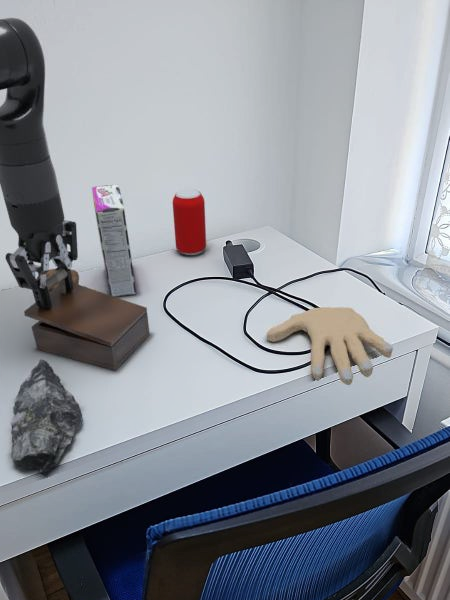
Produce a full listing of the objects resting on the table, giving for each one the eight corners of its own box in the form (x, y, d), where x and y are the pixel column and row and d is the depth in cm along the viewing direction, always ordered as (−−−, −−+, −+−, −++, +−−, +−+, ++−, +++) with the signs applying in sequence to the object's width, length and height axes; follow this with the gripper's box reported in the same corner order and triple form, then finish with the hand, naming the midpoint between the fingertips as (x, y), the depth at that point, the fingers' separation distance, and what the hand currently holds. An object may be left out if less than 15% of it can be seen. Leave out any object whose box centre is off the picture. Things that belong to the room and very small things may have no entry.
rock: (6, 352, 84) (14, 375, 87) (3, 459, 68) (13, 483, 71) (70, 340, 86) (76, 363, 89) (82, 442, 70) (89, 467, 73)
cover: (24, 315, 89) (19, 287, 85) (65, 284, 96) (62, 257, 93) (111, 347, 85) (109, 319, 82) (146, 311, 93) (146, 284, 89)
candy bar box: (104, 270, 113) (90, 186, 102) (130, 267, 114) (119, 183, 103) (109, 299, 104) (94, 210, 94) (137, 295, 105) (125, 206, 95)
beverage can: (212, 251, 118) (210, 192, 111) (188, 260, 115) (184, 201, 108) (194, 241, 122) (191, 184, 114) (170, 250, 119) (165, 192, 111)
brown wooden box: (37, 349, 93) (31, 326, 90) (76, 316, 100) (71, 294, 97) (115, 370, 88) (111, 347, 85) (149, 334, 95) (147, 312, 93)
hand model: (381, 302, 97) (399, 359, 80) (379, 327, 99) (395, 388, 82) (268, 303, 99) (262, 359, 82) (269, 328, 101) (263, 386, 85)
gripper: (41, 171, 87) (63, 274, 98) (-27, 206, 77) (7, 316, 88) (83, 177, 84) (101, 282, 95) (19, 214, 74) (47, 326, 85)
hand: (56, 298), depth 91 cm, fingers closed on cover, 5 cm apart
